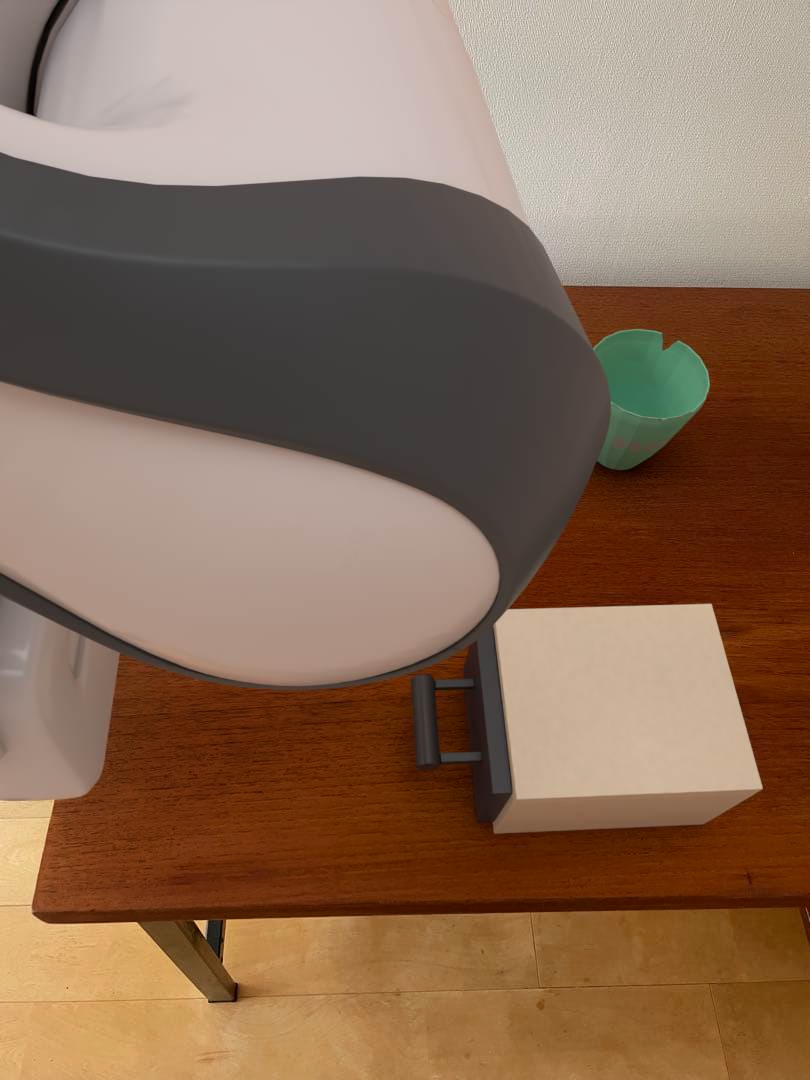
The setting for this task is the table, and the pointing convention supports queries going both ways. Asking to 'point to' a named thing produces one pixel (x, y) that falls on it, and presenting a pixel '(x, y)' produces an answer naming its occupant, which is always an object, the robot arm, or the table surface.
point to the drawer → (469, 727)
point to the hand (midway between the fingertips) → (123, 603)
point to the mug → (647, 393)
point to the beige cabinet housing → (619, 718)
